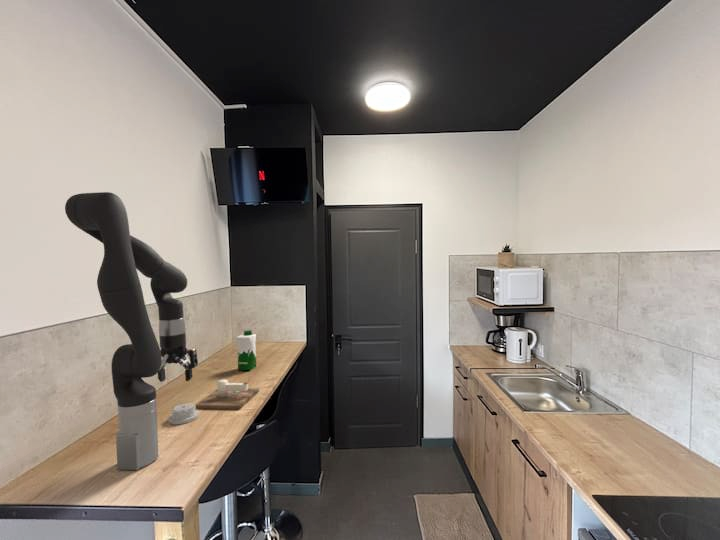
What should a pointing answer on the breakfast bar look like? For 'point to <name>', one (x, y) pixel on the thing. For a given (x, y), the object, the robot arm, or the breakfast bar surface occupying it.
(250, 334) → the milk carton
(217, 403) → the board
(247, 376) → the breakfast bar surface
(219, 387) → the peg
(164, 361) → the robot arm
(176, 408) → the mechanical component
